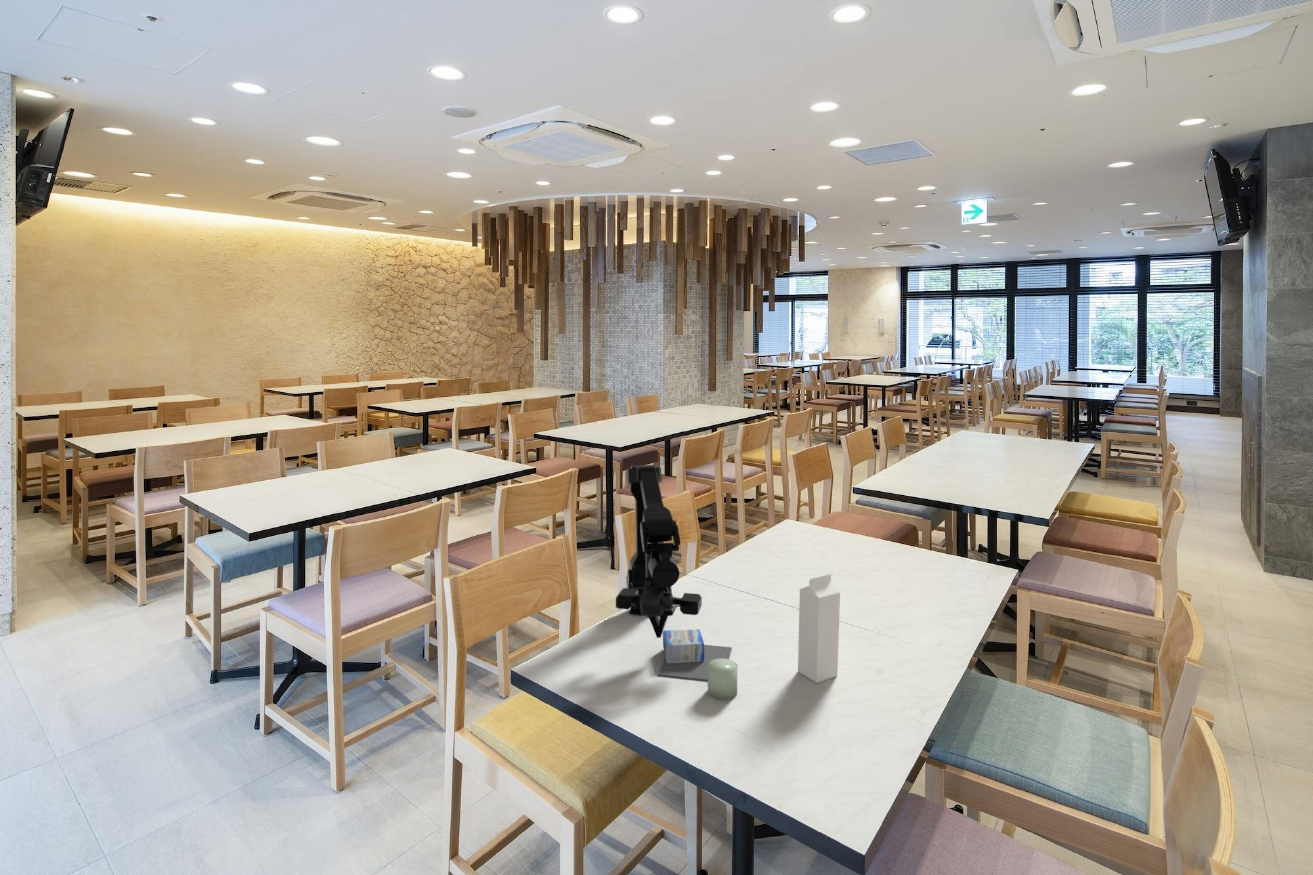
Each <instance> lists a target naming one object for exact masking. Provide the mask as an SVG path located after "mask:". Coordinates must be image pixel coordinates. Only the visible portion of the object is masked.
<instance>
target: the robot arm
mask: <svg viewBox="0 0 1313 875" xmlns="http://www.w3.org/2000/svg"><path fill="white" fill-rule="evenodd" d="M625 477H626V478H625V481H626V484H627V485H628V488H629V491H630V493H631V494H632V496H633V498H634V516H635V517H634V518H635V525H634V527H635V528H634V529H635V531H634V532H635V536H634V537H635V552H634V554H633V555H632V557H631V559H630V560H629V568H628V569H627V572H626V577H625V578H626V579H625V582H626V588H625V587H623V588H622V589H621V590H620V591H619V592H618V594H617V595H616V598H615V608H616V609H620V610H629V611H628V615H635V616H636V615H637V616H647V618H648V620H649V621H650V624H651V627H652V628H653V632H654V633H655V636H656V638H659V639H660V638H662V636H663V631H664V629H665V627H666V624H667V620H668V617H671V616H673V615H674V614H675V611H676V609H677V608H679V611H680V612H681V613H682V614H683V615H691V616H696V615H699V613H700V610H701V607H702V606H703V604H702V603H703V602H702V600H703V598H702V596H701V595H700V594H699V593H689V592H688V593H687V592H684V593H683V595H682V597H676V596H674V595H673V589H672V586H674V585H675V584H676V583H677V582H678V580H679V578H680V569H679V567H678V566H677V563H676V561H675V560H674V557H673V552H679V551H680V548H679V547H680V546H681V537H680V532H679V530H680V529H679V525H678V524H677V521H676V520H674V519H673V515H672V512H671V510H670V509H669V508H667V507H666V506H665V505H664V502H663V497H662V492H661V488H660V487H661V486H660V483H662V482H663V480H662V467H658V466H656V465H655V464H645V465H641V464H640V465H637V464H636V465H630V468H628V469H626V471H625ZM671 541H673V542H671Z"/></svg>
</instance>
